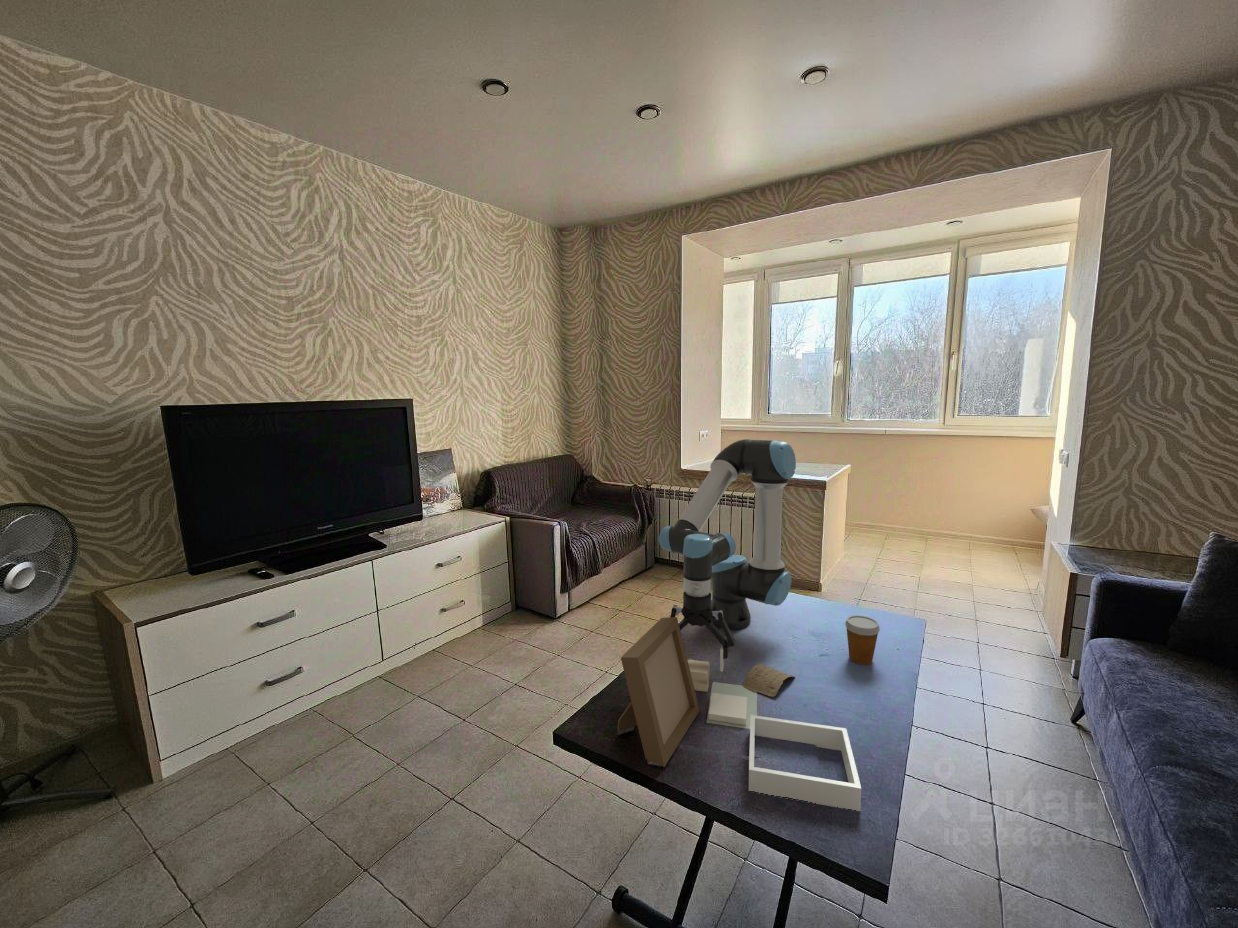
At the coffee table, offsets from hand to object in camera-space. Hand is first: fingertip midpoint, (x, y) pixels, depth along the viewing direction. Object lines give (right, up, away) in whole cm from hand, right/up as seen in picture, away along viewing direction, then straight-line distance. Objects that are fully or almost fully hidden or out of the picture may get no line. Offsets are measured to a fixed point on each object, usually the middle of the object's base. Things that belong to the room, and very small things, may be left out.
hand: (696, 665), depth 140 cm
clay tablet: (+21, -5, +2) cm, 21 cm away
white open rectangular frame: (+18, -10, -30) cm, 36 cm away
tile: (+8, -6, -7) cm, 12 cm away
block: (0, -6, +1) cm, 6 cm away
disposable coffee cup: (+51, -3, +13) cm, 53 cm away
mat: (+8, -7, -8) cm, 14 cm away
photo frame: (-13, -9, -17) cm, 23 cm away
